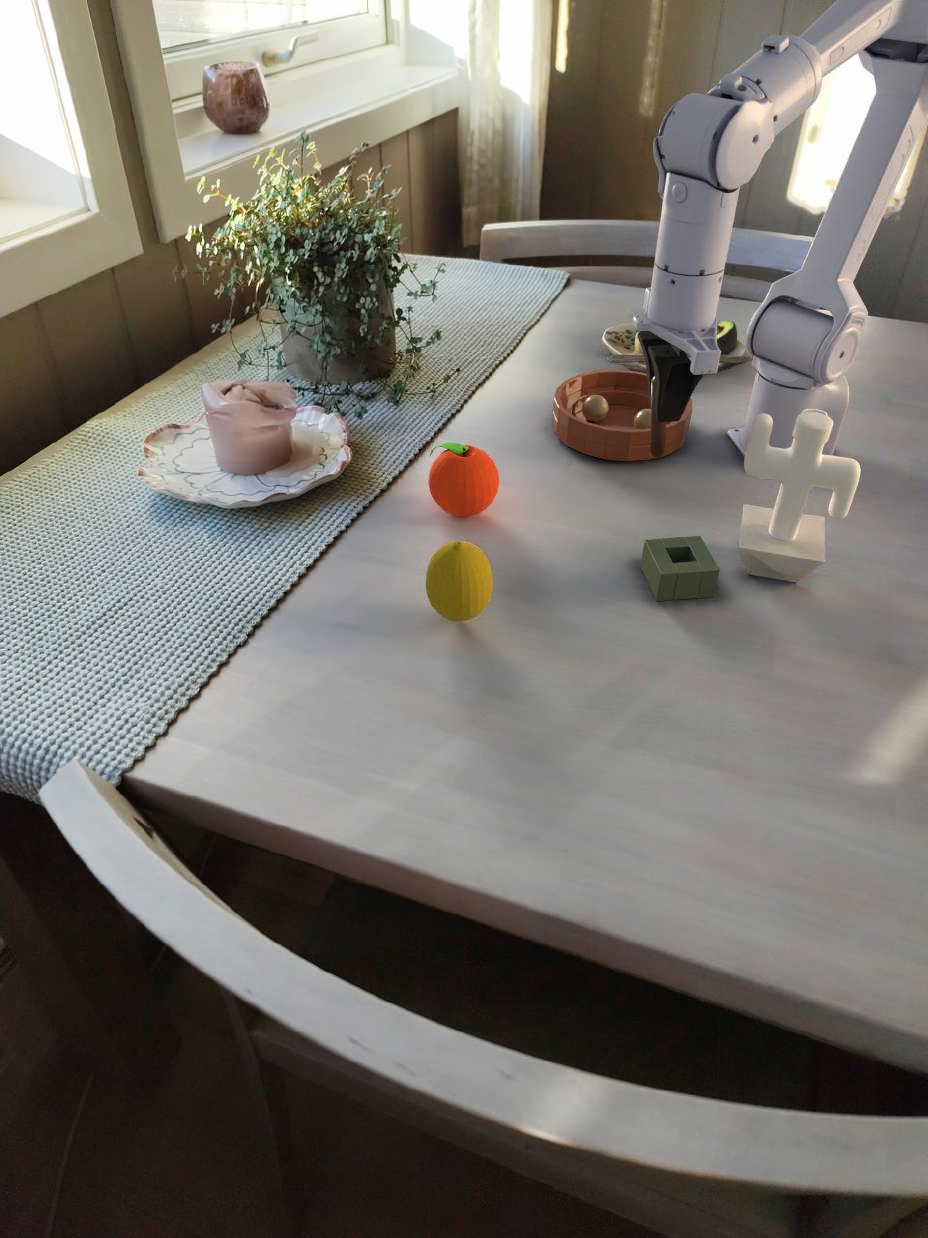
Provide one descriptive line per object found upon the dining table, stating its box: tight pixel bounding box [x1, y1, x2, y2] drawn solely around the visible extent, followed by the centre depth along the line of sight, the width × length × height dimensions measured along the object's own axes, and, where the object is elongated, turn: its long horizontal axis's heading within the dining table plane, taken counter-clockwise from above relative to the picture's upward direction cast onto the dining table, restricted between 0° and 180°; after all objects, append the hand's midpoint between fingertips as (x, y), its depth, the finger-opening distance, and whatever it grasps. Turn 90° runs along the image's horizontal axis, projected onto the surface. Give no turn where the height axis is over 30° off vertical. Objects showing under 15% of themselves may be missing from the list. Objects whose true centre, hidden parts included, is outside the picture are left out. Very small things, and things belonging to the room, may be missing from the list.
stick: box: [650, 376, 666, 459], centre depth 80 cm, size 1×1×8 cm
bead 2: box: [634, 409, 651, 429], centre depth 97 cm, size 3×3×3 cm
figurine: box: [738, 409, 861, 584], centre depth 75 cm, size 7×9×15 cm
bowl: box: [551, 369, 693, 462], centre depth 98 cm, size 15×15×4 cm
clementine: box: [427, 442, 500, 518], centre depth 85 cm, size 8×7×7 cm
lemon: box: [425, 540, 494, 622], centre depth 71 cm, size 6×6×8 cm
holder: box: [640, 535, 721, 602], centre depth 77 cm, size 5×5×3 cm
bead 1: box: [582, 395, 608, 422], centre depth 99 cm, size 3×3×3 cm
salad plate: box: [600, 319, 753, 374], centre depth 113 cm, size 19×18×5 cm
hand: (664, 414), depth 80 cm, fingers closed on stick, 1 cm apart
